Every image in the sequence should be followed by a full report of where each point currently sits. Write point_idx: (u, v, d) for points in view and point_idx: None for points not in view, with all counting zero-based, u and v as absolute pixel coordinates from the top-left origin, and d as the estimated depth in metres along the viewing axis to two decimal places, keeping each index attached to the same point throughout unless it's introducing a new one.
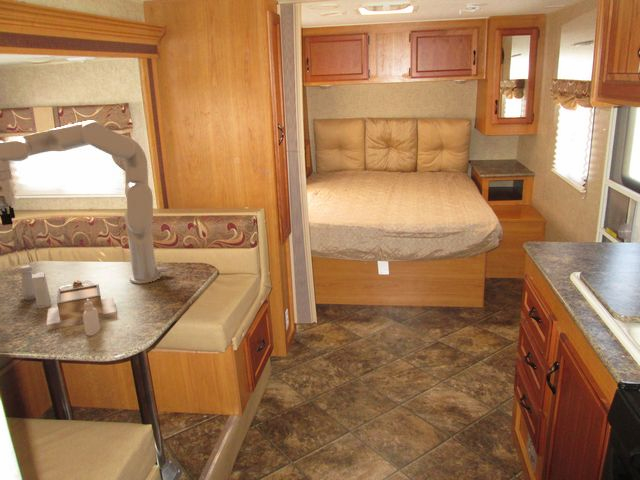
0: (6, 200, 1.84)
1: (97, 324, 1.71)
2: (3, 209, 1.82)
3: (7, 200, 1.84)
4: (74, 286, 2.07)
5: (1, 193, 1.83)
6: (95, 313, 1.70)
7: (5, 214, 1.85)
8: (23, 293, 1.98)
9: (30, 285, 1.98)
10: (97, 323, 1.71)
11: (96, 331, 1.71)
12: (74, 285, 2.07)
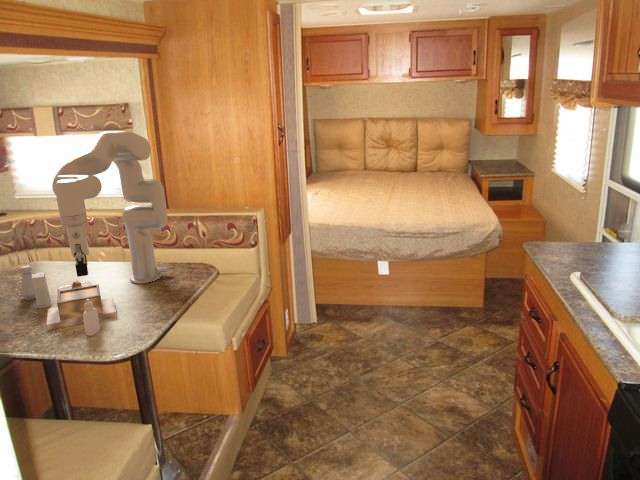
0: (82, 248, 1.59)
1: (97, 324, 1.71)
2: (80, 259, 1.57)
3: (83, 248, 1.59)
4: (73, 286, 2.06)
5: (77, 240, 1.58)
6: (95, 313, 1.70)
7: (81, 264, 1.59)
8: (23, 293, 1.98)
9: (30, 285, 1.98)
10: (97, 323, 1.71)
11: (96, 331, 1.71)
12: (73, 285, 2.06)
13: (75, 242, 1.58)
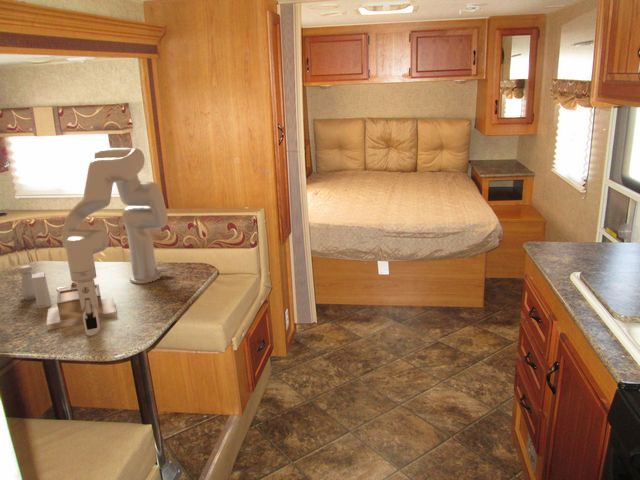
0: (92, 302, 1.64)
1: (97, 324, 1.71)
2: (90, 315, 1.64)
3: (93, 305, 1.65)
4: (72, 287, 2.06)
5: (87, 295, 1.63)
6: (95, 313, 1.70)
7: (91, 318, 1.67)
8: (23, 293, 1.98)
9: (30, 285, 1.98)
10: (97, 323, 1.71)
11: (96, 331, 1.71)
12: (72, 286, 2.06)
13: (85, 296, 1.63)
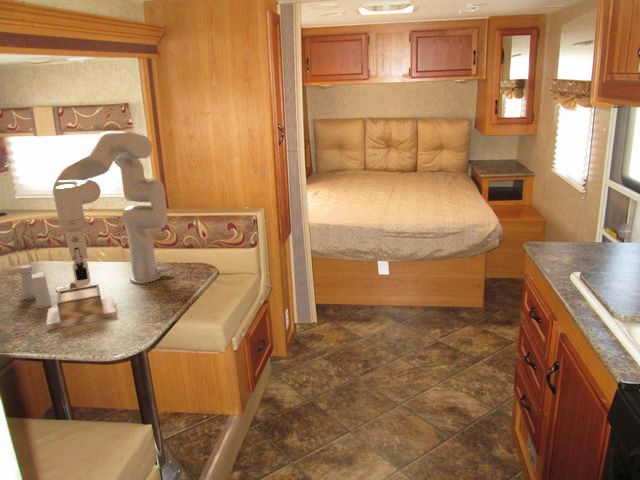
0: (81, 252, 1.63)
1: (87, 276, 1.70)
2: (80, 265, 1.63)
3: (83, 255, 1.64)
4: (71, 287, 2.05)
5: (76, 244, 1.62)
6: (85, 264, 1.69)
7: (81, 269, 1.65)
8: (23, 293, 1.98)
9: (30, 285, 1.98)
10: (87, 275, 1.70)
11: (87, 282, 1.70)
12: (71, 286, 2.05)
13: (74, 246, 1.62)
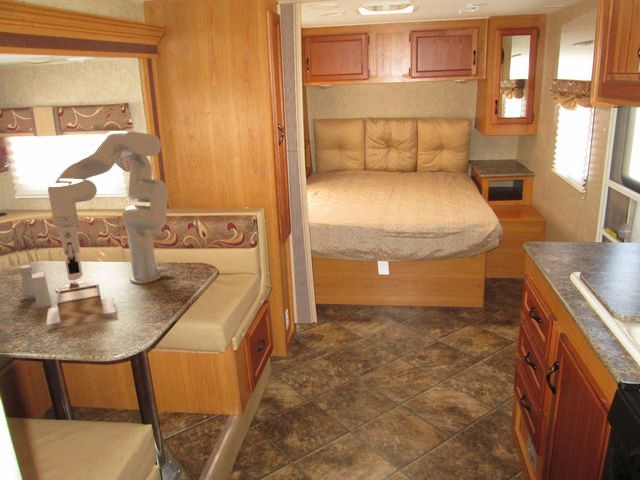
0: (73, 246, 1.73)
1: (79, 270, 1.80)
2: (72, 259, 1.72)
3: (75, 249, 1.73)
4: (70, 287, 2.05)
5: (69, 239, 1.72)
6: (77, 259, 1.78)
7: (73, 263, 1.75)
8: (23, 293, 1.98)
9: (30, 285, 1.98)
10: (79, 269, 1.80)
11: (78, 276, 1.79)
12: (70, 286, 2.05)
13: (67, 241, 1.71)
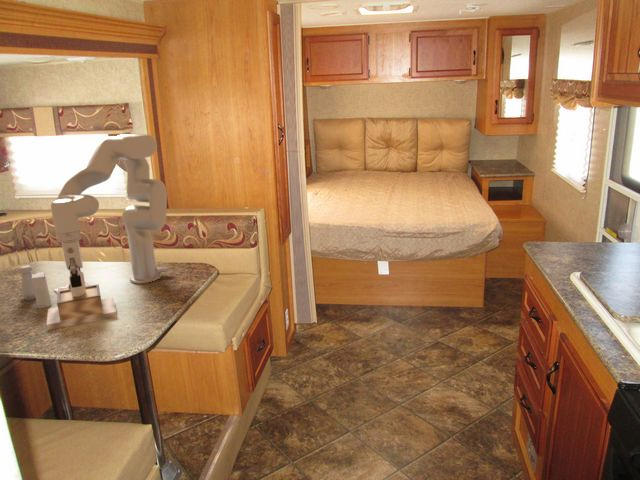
0: (76, 262, 1.74)
1: (83, 287, 1.82)
2: (74, 272, 1.72)
3: (77, 262, 1.74)
4: (70, 288, 2.05)
5: (71, 255, 1.73)
6: (81, 276, 1.80)
7: (75, 276, 1.75)
8: (23, 293, 1.98)
9: (30, 285, 1.98)
10: (83, 286, 1.82)
11: (82, 293, 1.81)
12: (70, 287, 2.05)
13: (70, 256, 1.73)
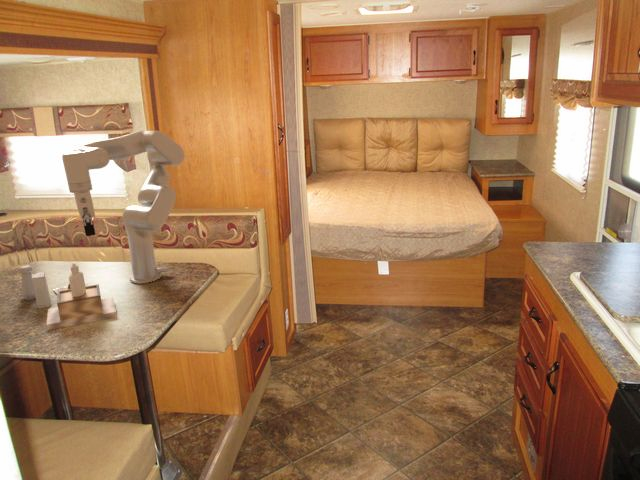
0: (89, 211, 1.83)
1: (83, 287, 1.82)
2: (88, 220, 1.81)
3: (90, 211, 1.83)
4: (69, 288, 2.05)
5: (84, 204, 1.82)
6: (81, 276, 1.80)
7: (89, 225, 1.83)
8: (23, 293, 1.98)
9: (30, 285, 1.98)
10: (83, 286, 1.82)
11: (82, 293, 1.81)
12: (69, 287, 2.05)
13: (83, 206, 1.81)
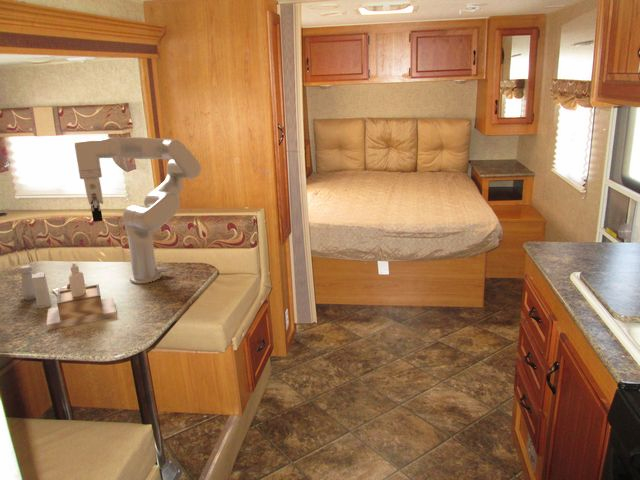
0: (98, 197, 1.89)
1: (83, 287, 1.82)
2: (96, 206, 1.87)
3: (98, 197, 1.90)
4: (68, 288, 2.04)
5: (93, 190, 1.88)
6: (81, 276, 1.80)
7: (96, 211, 1.90)
8: (23, 293, 1.98)
9: (30, 285, 1.98)
10: (83, 286, 1.82)
11: (82, 293, 1.81)
12: (68, 287, 2.04)
13: (92, 192, 1.88)
